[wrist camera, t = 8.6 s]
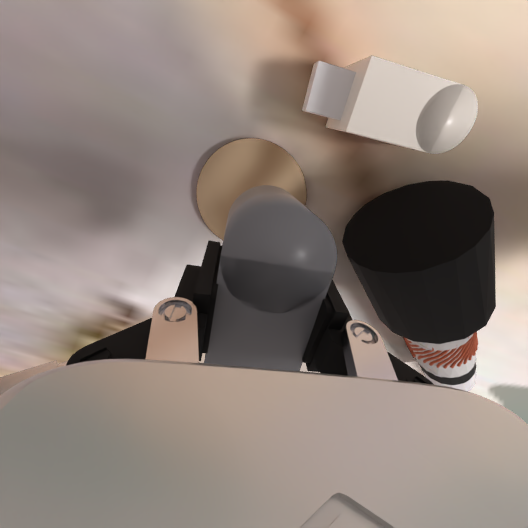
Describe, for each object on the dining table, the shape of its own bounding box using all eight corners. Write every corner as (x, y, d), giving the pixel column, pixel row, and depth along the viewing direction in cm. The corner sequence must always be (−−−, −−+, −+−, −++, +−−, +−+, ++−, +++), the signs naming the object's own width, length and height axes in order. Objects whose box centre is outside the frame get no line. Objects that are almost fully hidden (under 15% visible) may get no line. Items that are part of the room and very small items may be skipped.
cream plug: (439, 97, 20) (491, 93, 16) (414, 150, 22) (454, 159, 18) (310, 57, 18) (330, 42, 14) (295, 119, 20) (308, 121, 16)
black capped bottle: (412, 352, 44) (417, 416, 38) (347, 202, 25) (336, 281, 19) (487, 355, 38) (507, 431, 32) (475, 164, 20) (516, 259, 14)
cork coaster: (319, 153, 22) (321, 154, 21) (289, 252, 27) (290, 255, 26) (203, 125, 20) (201, 125, 20) (193, 236, 25) (192, 239, 25)
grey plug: (233, 177, 12) (230, 194, 8) (312, 194, 13) (353, 218, 8) (206, 353, 16) (193, 431, 12) (266, 359, 17) (276, 435, 12)
